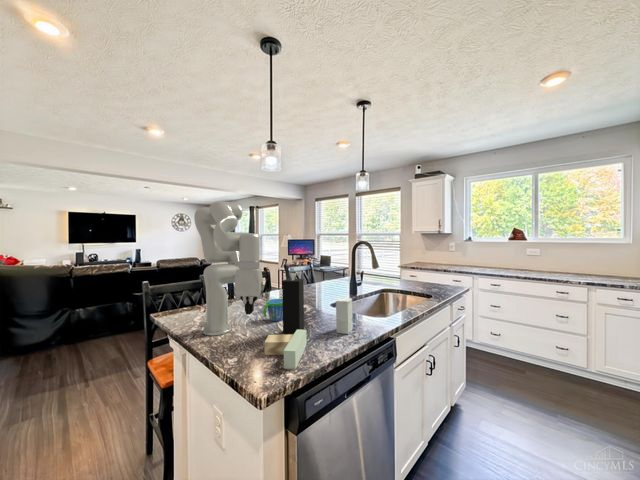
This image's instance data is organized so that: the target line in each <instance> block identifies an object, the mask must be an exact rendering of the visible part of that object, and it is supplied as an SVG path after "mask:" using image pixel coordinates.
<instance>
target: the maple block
mask: <svg viewBox="0 0 640 480" xmlns="http://www.w3.org/2000/svg"><path fill="white" fill-rule="evenodd" d="M292 337H293V334H289V335H283V334H268V335H267V337H266V339H265V340H264V356H284V349H285V348H286V346H287V345H288V343H289V341H290V340H291V338H292Z"/></svg>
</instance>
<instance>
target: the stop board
mask: <svg viewBox="0 0 640 480" xmlns="http://www.w3.org/2000/svg"><path fill="white" fill-rule="evenodd" d="M306 347H307V329H304V330H296V332H295V333H294V335H293V337H292V338H291V340H290V341H289V343H288V345H287V346H286V348H285V349H284V355H283V369H286V370H287V369H289V370H296V369H297V366H298V365H299V363H300V360H301V358H302V355H303V353H304V351H305V349H306Z"/></svg>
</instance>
